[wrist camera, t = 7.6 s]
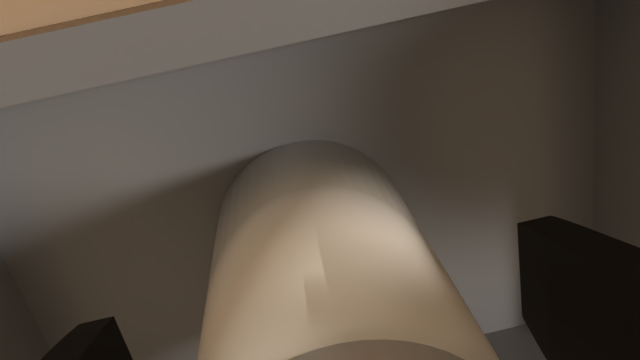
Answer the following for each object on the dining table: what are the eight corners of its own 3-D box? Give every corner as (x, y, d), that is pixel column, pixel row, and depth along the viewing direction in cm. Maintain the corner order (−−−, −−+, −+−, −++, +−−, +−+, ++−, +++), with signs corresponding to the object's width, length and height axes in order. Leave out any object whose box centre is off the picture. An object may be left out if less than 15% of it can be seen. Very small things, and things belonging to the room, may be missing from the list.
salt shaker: (409, 286, 14) (586, 669, 6) (239, 319, 13) (218, 754, 6) (393, 124, 12) (612, 393, 5) (198, 158, 12) (98, 495, 4)
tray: (612, 315, 16) (677, 380, 13) (74, 442, 15) (40, 533, 13) (626, -100, 11) (726, -116, 9) (-132, 64, 11) (-242, 95, 8)
